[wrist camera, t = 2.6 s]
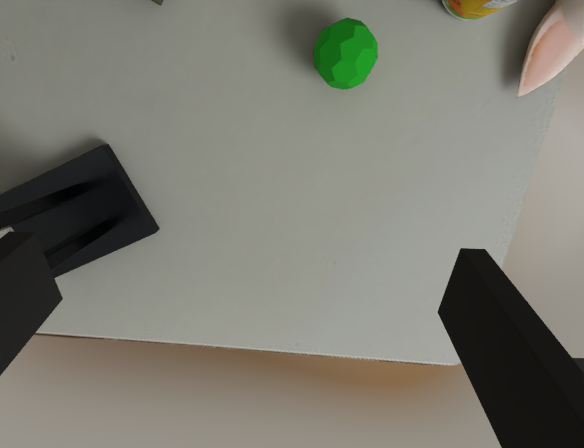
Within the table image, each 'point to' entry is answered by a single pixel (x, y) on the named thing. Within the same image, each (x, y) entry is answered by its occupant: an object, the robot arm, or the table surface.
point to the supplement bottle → (474, 7)
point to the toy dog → (553, 44)
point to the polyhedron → (345, 53)
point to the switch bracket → (79, 210)
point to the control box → (158, 1)
